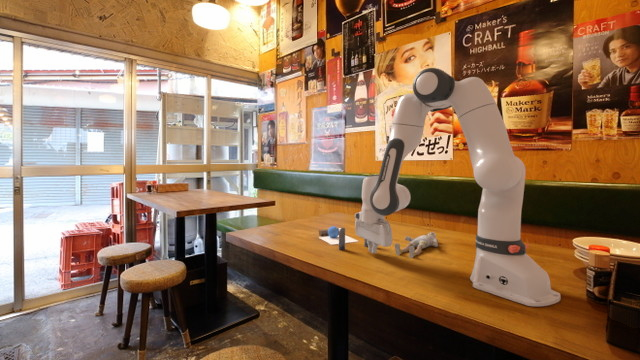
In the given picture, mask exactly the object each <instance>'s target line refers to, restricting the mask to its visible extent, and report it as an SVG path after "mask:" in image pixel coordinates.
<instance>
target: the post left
mask: <svg viewBox="0 0 640 360" xmlns="http://www.w3.org/2000/svg"><path fill="white" fill-rule="evenodd" d="M338 230H339V244H338V251H346V243H345V235H346V227H338Z"/></svg>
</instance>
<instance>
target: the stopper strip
mask: <svg viewBox="0 0 640 360" xmlns="http://www.w3.org/2000/svg"><path fill="white" fill-rule="evenodd" d="M328 229H329V228H326V229H319V230H318V235H319V237H326V236H329V235H328Z"/></svg>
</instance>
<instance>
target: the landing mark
mask: <svg viewBox="0 0 640 360" xmlns="http://www.w3.org/2000/svg"><path fill="white" fill-rule="evenodd" d="M318 239H320V240H322V241H324V242H326V243H327V244H329V245H331V246H334V245H339V235H338V236H337V237H335V238H331V237H330V236H329V235H326V236H319V237H318ZM359 242H360V241H359V240H357V239H356V238H353V237H351V236H348V235H346V234H345V244H350V243H351V244H352V243H359Z"/></svg>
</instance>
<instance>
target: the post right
mask: <svg viewBox="0 0 640 360" xmlns="http://www.w3.org/2000/svg"><path fill="white" fill-rule="evenodd" d="M363 247H365V248H369V247H368V244H367V239H364V246H363Z"/></svg>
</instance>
